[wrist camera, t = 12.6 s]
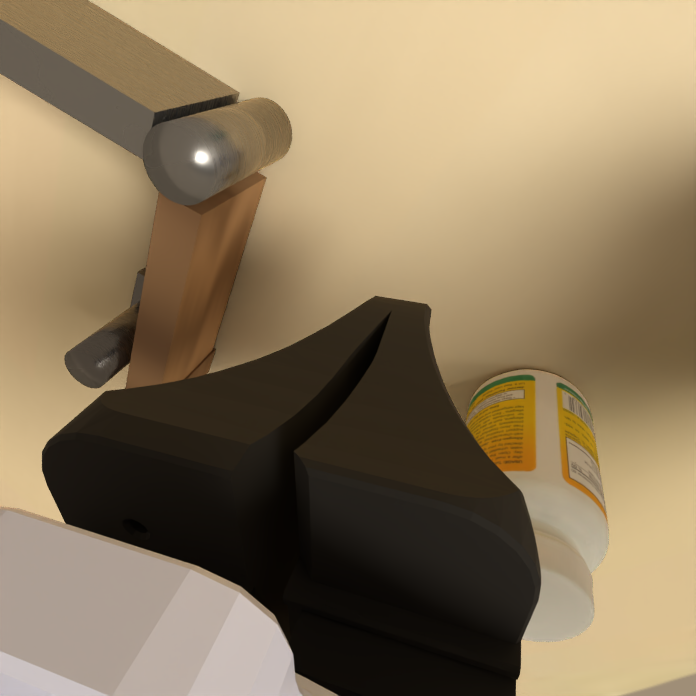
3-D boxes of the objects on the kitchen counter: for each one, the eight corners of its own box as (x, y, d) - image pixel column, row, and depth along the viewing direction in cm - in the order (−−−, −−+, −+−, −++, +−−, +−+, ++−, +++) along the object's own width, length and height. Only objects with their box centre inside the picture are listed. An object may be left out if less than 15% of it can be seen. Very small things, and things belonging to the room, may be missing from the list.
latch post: (199, 299, 25) (121, 364, 20) (185, 342, 27) (111, 410, 22) (145, 267, 25) (54, 324, 20) (135, 312, 27) (50, 374, 22)
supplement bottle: (610, 383, 21) (658, 591, 13) (565, 467, 24) (583, 675, 16) (483, 351, 22) (460, 527, 14) (456, 436, 25) (424, 618, 17)
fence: (300, 118, 19) (222, 149, 14) (279, 173, 20) (202, 219, 15) (39, -42, 18) (-131, -66, 14) (37, 26, 20) (-118, 26, 15)
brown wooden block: (232, 156, 20) (145, 195, 16) (270, 177, 20) (194, 222, 16) (180, 355, 27) (110, 423, 23) (208, 371, 27) (144, 441, 23)
